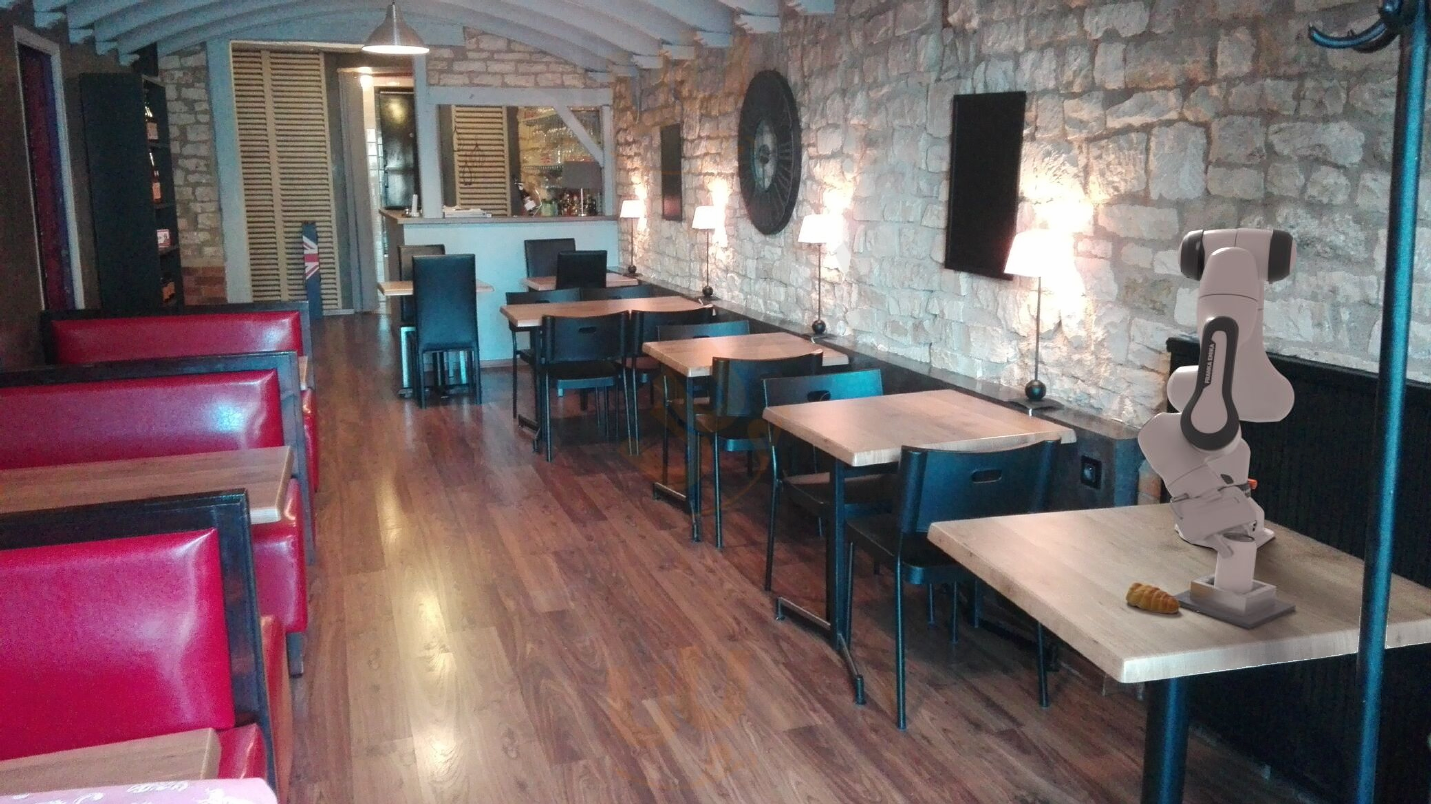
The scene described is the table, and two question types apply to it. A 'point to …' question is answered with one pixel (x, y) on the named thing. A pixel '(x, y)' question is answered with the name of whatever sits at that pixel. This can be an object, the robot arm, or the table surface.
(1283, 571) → the table surface
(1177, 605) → the pastry
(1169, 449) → the robot arm
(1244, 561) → the can
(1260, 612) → the collar
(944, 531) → the table surface
